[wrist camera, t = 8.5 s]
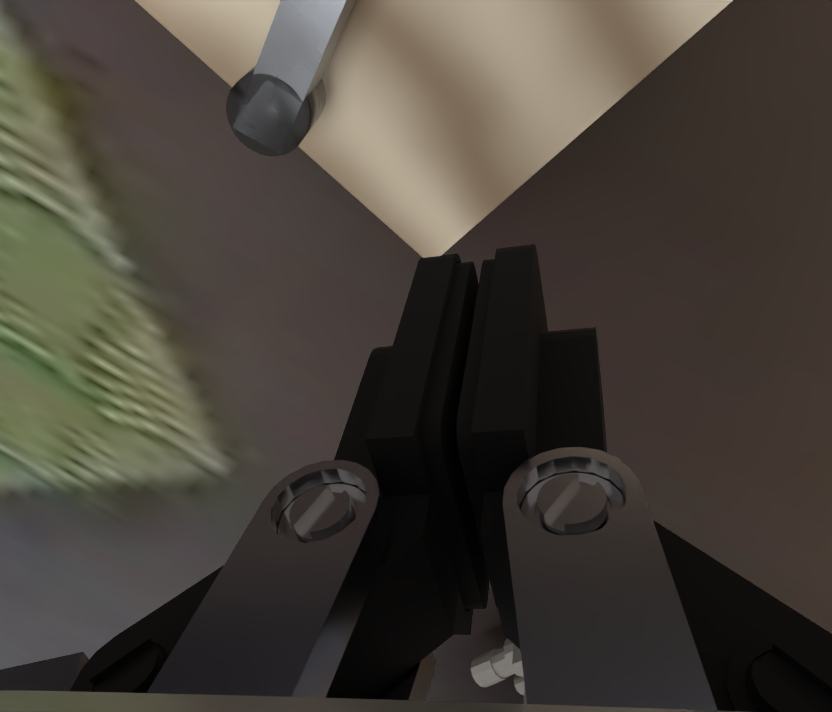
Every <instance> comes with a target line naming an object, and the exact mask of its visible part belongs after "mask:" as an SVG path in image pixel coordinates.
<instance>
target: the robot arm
mask: <svg viewBox="0 0 832 712" xmlns="http://www.w3.org/2000/svg"><path fill="white" fill-rule="evenodd" d="M489 579H490V583H491V587H492V591H493V595H494V599H495V603H496V606H497V608H498V610H499V614H500V618H501V622H502V627H503V631H504V635H505V636H506V637H507V639H506V640H505V642H504V646H503V647H502V648H499V649H493V650H491V651H488V652H486V653H484V654H482V655H479V656H477V657H475V658H474V659H473V660H472V662H471V673H472V676H473V678H474V680H475V681H476V683H477V684H478V685H480V686H481V687H488V686H490V685H493V684H495V683H498V682H500V681H503V680H505V679H506V678H508V677H509V676H510V675H513V674H516V675H515V676H514V685H515V688H516V690H517V691H518V692H519V693H520V694H521V695H524V704H511V703H481V702H448V701H426V700H427V697H428V693H429V690H430V687H431V683H432V680H433V677H434V671H435V664H436V658H435V653H434V650H435V649H436V648H437V647H439V646H440V645H441V644H442V643H444V642H445V641H446V640H447V639H449V638H450V637H451V636H452V635H453V634H463V635H470V634H471V624H472V615H473V609H485V608H486V606H487V601H488V590H489ZM0 712H832V634H831V633H829V632H828V631H826V630H825V629H823V628H821V627H820V626H818V625H817V624H815V623H814V622H812V621H810V620H809V619H807V618H806V617H804V616H803V615H801V614H799V613H798V612H796V611H795V610H793V609H792V608H790V607H788V606H787V605H785V604H784V603H782V602H781V601H779V600H777V599H776V598H774V597H773V596H771V595H770V594H768V593H766V592H765V591H763V590H762V589H760V588H759V587H757V586H756V585H754V584H752V583H751V582H749V581H748V580H746V579H745V578H743V577H741V576H740V575H738V574H737V573H735V572H734V571H732V570H730V569H729V568H727V567H726V566H724V565H723V564H721V563H719V562H718V561H716V560H715V559H713V558H712V557H710V556H708V555H707V554H705V553H704V552H702V551H701V550H699V549H697V548H696V547H694V546H693V545H691V544H690V543H688V542H686V541H685V540H683V539H682V538H680V537H679V536H677V535H676V534H674V533H672V532H671V531H669V530H668V529H666V528H665V527H663V526H661V525H660V524H658V523H657V522H655V521H654V520H653V519H652V516H651V513H650V510H649V507H648V504H647V501H646V498H645V495H644V493H643V490H642V487H641V484H640V482H639V480H638V479H637V477H636V475H635V473H634V472H633V470H632V469H631V468H630V467H629V466H628V465H626V464H625V463H624V462H623V461H621V460H620V459H619V458H618V457H615V456H613V455H611V454H608V453H607V447H606V434H605V421H604V409H603V397H602V386H601V375H600V365H599V354H598V344H597V334H596V327H594V328H583V329H572V330H561V331H551V332H548V328H547V321H546V313H545V306H544V299H543V292H542V285H541V278H540V270H539V263H538V256H537V251H536V246H535V244H533V245H525V246H517V247H509V248H500V249H497V250H496V255H495V259H491V260H483V263H482V269H481V275H480V281H479V285H478V280H477V274H476V270H475V266H474V263H473V262H466V263H461V260H460V257H459V255H458V254H451V255H443V256H435V257H426V258H420V260H419V262H418V265H417V269H416V272H415V275H414V278H413V282H412V285H411V288H410V291H409V295H408V298H407V301H406V305H405V308H404V311H403V314H402V318H401V321H400V324H399V327H398V331H397V334H396V337H395V341H394V344H393V346H389V347H378V348H375V349H373V351H372V353H371V354H370V357H369V360H368V362H367V365H366V368H365V371H364V374H363V377H362V380H361V383H360V386H359V389H358V392H357V395H356V398H355V401H354V403H353V406H352V409H351V412H350V415H349V418H348V421H347V424H346V427H345V430H344V433H343V436H342V439H341V441H340V444H339V447H338V450H337V453H336V456H335V459H334V460H329V461H321V462H318V463H314V464H311V465H307V466H305V467H303V468H301V469H299V470H297V471H295V472H293V473H291V474H289V475H288V476H286V477H285V478H284V479H283V480H281V481H280V482H279V483H278V484H276V485H275V486H274V487H273V488H272V490H271V491H270V492H269V493H268V495H267V496H266V497H265V498H264V500H263V501H262V503H261V505H260V506H259V508H258V510H257V511H256V513H255V515H254V516H253V518H252V520H251V521H250V523H249V525H248V526H247V528H246V530H245V531H244V533H243V535H242V536H241V538H240V539H239V541H238V543H237V544H236V546H235V548H234V549H233V551H232V553H231V554H230V556H229V558H228V559H227V561H226V563H225V564H224V566H222V567H220V568H219V569H217V570H216V571H214V572H213V573H211V574H210V575H208V576H207V577H205V578H204V579H202V580H201V581H199V582H198V583H196V584H195V585H193V586H192V587H190V588H188V589H187V590H185V591H184V592H182V593H181V594H179V595H178V596H176V597H175V598H173V599H172V600H170V601H169V602H167V603H166V604H164V605H163V606H161V607H160V608H158V609H156V610H155V611H153V612H152V613H150V614H149V615H147V616H146V617H144V618H143V619H141V620H140V621H138V622H137V623H135V624H134V625H132V626H131V627H129V628H128V629H126V630H124V631H123V632H121V633H120V634H118V635H117V636H115V637H114V638H113V639H111V640H110V641H109V642H108V643H106V644H105V645H104V646H103V647H101V648H100V649H99V650H98V651H97V652H96V653H95V654H94V655H93V656H92V657H91V658H90V660H89V659H88V658H87V656H86V655H85V654H84V652H79V653H74V654H70V655H65V656H60V657H56V658H51V659H47V660H42V661H37V662H33V663H28V664H23V665H19V666H14V667H9V668H5V669H0Z"/></svg>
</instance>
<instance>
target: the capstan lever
mask: <svg viewBox="0 0 832 712" xmlns="http://www.w3.org/2000/svg"><path fill="white" fill-rule="evenodd" d="M355 2H356V0H281V1H280V3H279V6H278V8H277V11H276V14H275V16H274V19H273V22H272V24H271V27H270V30H269V32H268V35H267V38H266V40H265V43H264V46H263V48H262V51H261V54H260V56H259V59H258V62H257V64H256V65H255V66H254V67H253V68H252V69H251V70H250V71H249V72H248V73H246V74H245V75H244V76H243V77H242V78H241V79H240V80H239V81H238V82H236V84H235V85H234V86H233V87H232V89H231V90H230V93H229V95H228V98H227V104H226V111H227V117H228V121H229V124H230V126H231V128H232V130H233V132H234V133H235V135H236V136H237V138H238V139H239V140H240V141H241V142H242V143H243V144H244V145H246V146H247V147H248V148H250V149H251V150H253V151H255V152H257V153H260V154H263V155H267V156H280V155H284V154H287V153H289V152H291V151H293V150H294V149H295V148H296V147H297V146H298V145H299V144H300V143H301V141H302V140H303V139H304V137H305V136H306V135H307V133H308V132H309V131H310V129H311V128H312V127H313V125H314V124H315V122H316V121H317V120H318V118H319V117H320V116H321V114H322V112H323V110H324V107H325V102H326V91H325V86H324V83H323V80H322V77H323V75H324V73H325V71H326V68H327V66H328V64H329V61H330V59H331V57H332V55H333V52H334V50H335V48H336V45H337V43H338V41H339V39H340V36H341V34H342V32H343V30H344V27H345V25H346V23H347V20H348V18H349V16H350V14H351V11H352V9H353V7H354V4H355Z"/></svg>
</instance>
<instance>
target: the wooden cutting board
mask: <svg viewBox="0 0 832 712" xmlns="http://www.w3.org/2000/svg"><path fill="white" fill-rule="evenodd" d="M135 1H136V2H137V3H138V4H139V5H141V6H142V7H143V8H144V9H145V10H146V11H147V12H148V13H150V14H151V15H152V16H153V17H154V18H155V19H156V20H157V21H159V22H160V23H161V24H162V25H163V26H164V27H165V28H166V29H167V30H169V31H170V32H171V33H172V34H173V35H174V36H175V37H176V38H178V39H179V40H180V41H181V42H182V43H183V44H184V45H185V46H187V47H188V48H189V49H190V50H191V51H192V52H193V53H194V54H195V55H197V56H198V57H199V58H200V59H201V60H202V61H203V62H204V63H206V64H207V65H208V66H209V67H210V68H211V69H212V70H213V71H215V72H216V73H217V74H218V75H219V76H220V77H221V78H222V79H223V80H225V81H226V82H227V83H228V84H229V85H230V86H231V87H233V86H234V85H235V84H236V82H238V81H239V80H240V79H241V78H242V77H243V76H244V75H245V74H246V73H248V72H249V71H250V70H251V69H252V68H253V67H254V66H255V65H256V64H257V62H258V59H259V56H260V54H261V51H262V48H263V46H264V43H265V40H266V38H267V35H268V32H269V30H270V27H271V24H272V22H273V19H274V16H275V14H276V11H277V8H278V6H279V3H280V1H281V0H135ZM732 1H733V0H356V2H355V4H354V7H353V9H352V11H351V14H350V16H349V18H348V20H347V23H346V25H345V27H344V30H343V32H342V34H341V36H340V39H339V41H338V43H337V45H336V48H335V50H334V52H333V55H332V57H331V59H330V61H329V64H328V66H327V68H326V71H325V73H324V75H323V77H322V80H323V83H324V86H325V91H326V102H325V107H324V110H323V112H322V114H321V116H320V117H319V118H318V120H317V121H316V122H315V124H314V125H313V127H312V128H311V129H310V131H309V132H308V133H307V135H306V136H305V137H304V139H303V140H302V141H301V143H300V144H299V145H298V146H299V147H300V148H301V149H302V150H303V151H304V152H305V153H306V154H307V155H309V156H310V157H311V158H312V159H313V160H314V161H315V162H316V163H318V164H319V165H320V166H321V167H322V168H323V169H324V170H325V171H327V172H328V173H329V174H330V175H331V176H332V177H333V178H334V179H335V180H337V181H338V182H339V183H340V184H341V185H342V186H343V187H344V188H346V189H347V190H348V191H349V192H350V193H351V194H352V195H353V196H355V197H356V198H357V199H358V200H359V201H360V202H361V203H362V204H363V205H365V206H366V207H367V208H368V209H369V210H370V211H371V212H372V213H374V214H375V215H376V216H377V217H378V218H379V219H380V220H381V221H383V222H384V223H385V224H386V225H387V226H388V227H389V228H390V229H391V230H393V231H394V232H395V233H396V234H397V235H398V236H399V237H400V238H402V239H403V240H404V241H405V242H406V243H407V244H408V245H409V246H411V247H412V248H413V249H414V250H415V251H416V252H417V253H418V254H419V255H421V256H422V257H423V258H426V257H435V256H441V255H442V254H443V253H445V252H446V251H447V250H448V249H449V248H450V247H451V246H453V245H454V244H455V243H456V242H457V241H458V240H459V239H461V238H462V237H463V236H464V235H465V234H466V233H467V232H469V231H470V230H471V229H472V228H473V227H474V226H475V225H477V224H478V223H479V222H480V221H481V220H482V219H483V218H485V217H486V216H487V215H488V214H489V213H490V212H491V211H493V210H494V209H495V208H496V207H497V206H498V205H499V204H501V203H502V202H503V201H504V200H505V199H506V198H507V197H509V196H510V195H511V194H512V193H513V192H514V191H515V190H517V189H518V188H519V187H520V186H521V185H522V184H524V183H525V182H526V181H527V180H528V179H529V178H530V177H532V176H533V175H534V174H535V173H536V172H537V171H538V170H540V169H541V168H542V167H543V166H544V165H545V164H546V163H548V162H549V161H550V160H551V159H552V158H553V157H554V156H556V155H557V154H558V153H559V152H560V151H561V150H562V149H564V148H565V147H566V146H567V145H568V144H569V143H570V142H572V141H573V140H574V139H575V138H576V137H577V136H578V135H580V134H581V133H582V132H583V131H584V130H585V129H586V128H588V127H589V126H590V125H591V124H592V123H593V122H594V121H596V120H597V119H598V118H599V117H600V116H601V115H602V114H604V113H605V112H606V111H607V110H608V109H609V108H610V107H612V106H613V105H614V104H615V103H616V102H617V101H619V100H620V99H621V98H622V97H623V96H624V95H625V94H627V93H628V92H629V91H630V90H631V89H632V88H633V87H635V86H636V85H637V84H638V83H639V82H640V81H641V80H643V79H644V78H645V77H646V76H647V75H648V74H649V73H651V72H652V71H653V70H654V69H655V68H656V67H657V66H659V65H660V64H661V63H662V62H663V61H664V60H665V59H667V58H668V57H669V56H670V55H671V54H672V53H673V52H675V51H676V50H677V49H678V48H679V47H680V46H681V45H683V44H684V43H685V42H686V41H687V40H688V39H689V38H691V37H692V36H693V35H694V34H695V33H696V32H697V31H699V30H700V29H701V28H702V27H703V26H704V25H705V24H707V23H708V22H709V21H710V20H711V19H712V18H714V17H715V16H716V15H717V14H718V13H719V12H720V11H722V10H723V9H724V8H725V7H726V6H727V5H728V4H730V3H731V2H732Z"/></svg>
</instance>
